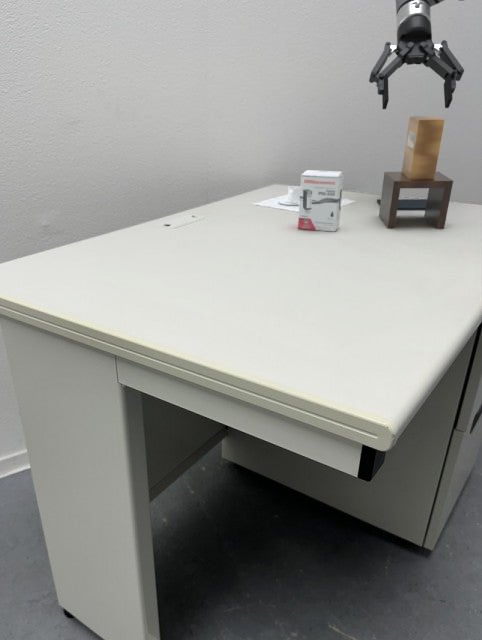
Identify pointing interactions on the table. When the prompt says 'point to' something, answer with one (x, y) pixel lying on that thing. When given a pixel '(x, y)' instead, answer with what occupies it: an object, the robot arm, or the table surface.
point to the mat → (410, 204)
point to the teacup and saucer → (290, 200)
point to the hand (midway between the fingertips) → (416, 104)
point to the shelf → (397, 180)
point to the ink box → (320, 200)
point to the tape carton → (422, 147)
